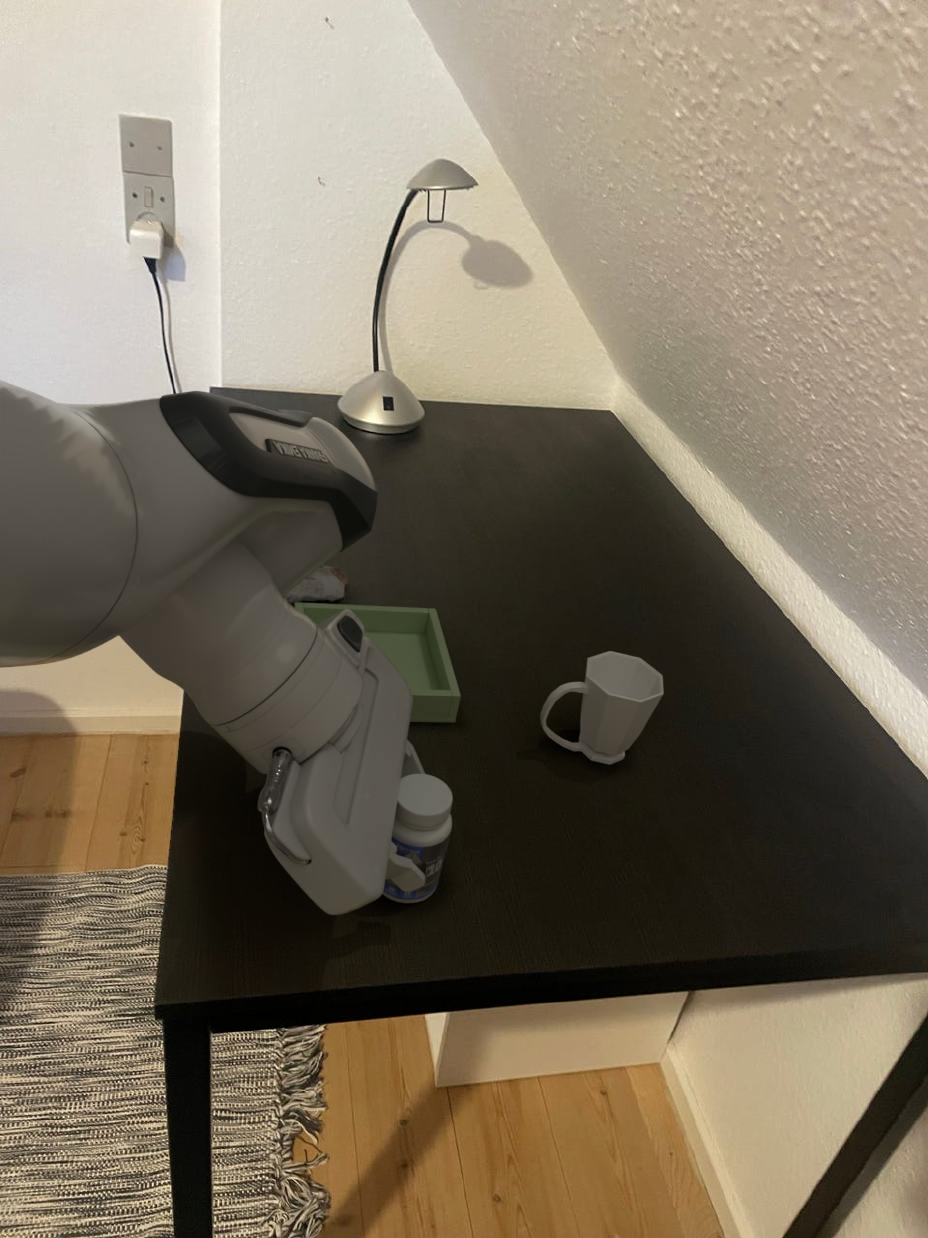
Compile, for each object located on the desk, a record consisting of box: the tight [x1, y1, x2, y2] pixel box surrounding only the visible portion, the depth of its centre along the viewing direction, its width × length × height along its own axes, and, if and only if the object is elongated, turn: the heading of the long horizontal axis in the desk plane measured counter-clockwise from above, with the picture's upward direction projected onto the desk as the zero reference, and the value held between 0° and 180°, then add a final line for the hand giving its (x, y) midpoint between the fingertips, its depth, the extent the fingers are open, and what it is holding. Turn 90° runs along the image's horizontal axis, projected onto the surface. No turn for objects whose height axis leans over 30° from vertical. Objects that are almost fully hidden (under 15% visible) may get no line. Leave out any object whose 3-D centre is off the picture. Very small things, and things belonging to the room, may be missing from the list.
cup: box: [539, 650, 665, 766], centre depth 81 cm, size 7×10×8 cm
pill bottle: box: [382, 773, 453, 904], centre depth 65 cm, size 5×5×8 cm
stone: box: [283, 565, 349, 605], centre depth 95 cm, size 10×7×3 cm
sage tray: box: [293, 602, 462, 723], centre depth 86 cm, size 14×14×3 cm
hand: (423, 838), depth 65 cm, fingers open, 6 cm apart
